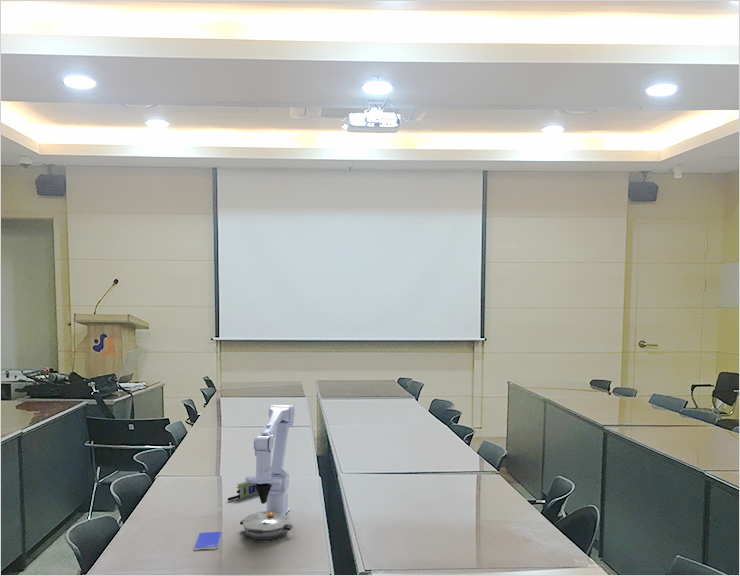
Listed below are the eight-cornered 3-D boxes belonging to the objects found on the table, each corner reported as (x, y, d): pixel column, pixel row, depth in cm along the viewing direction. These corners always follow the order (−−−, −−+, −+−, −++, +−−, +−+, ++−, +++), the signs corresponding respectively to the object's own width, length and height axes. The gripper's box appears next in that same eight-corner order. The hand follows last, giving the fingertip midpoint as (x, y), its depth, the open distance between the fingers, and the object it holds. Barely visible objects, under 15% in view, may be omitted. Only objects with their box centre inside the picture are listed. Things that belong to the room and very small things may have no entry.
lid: (255, 511, 239) (255, 506, 239) (295, 515, 235) (295, 510, 235) (233, 530, 222) (233, 524, 222) (276, 535, 217) (275, 529, 217)
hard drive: (217, 545, 216) (221, 531, 228) (193, 547, 215) (199, 532, 227) (217, 550, 216) (221, 535, 228) (194, 551, 215) (199, 536, 227)
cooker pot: (253, 519, 241) (252, 509, 241) (300, 525, 235) (300, 515, 235) (231, 538, 224) (231, 527, 224) (282, 545, 218) (282, 534, 218)
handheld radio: (278, 489, 276) (230, 503, 259) (274, 487, 278) (226, 501, 261) (278, 474, 276) (229, 487, 259) (273, 472, 279) (225, 486, 261)
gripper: (241, 468, 229) (241, 504, 229) (276, 472, 225) (276, 508, 226) (250, 463, 236) (250, 498, 236) (284, 466, 232) (284, 501, 232)
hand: (263, 502), depth 231 cm, fingers closed
